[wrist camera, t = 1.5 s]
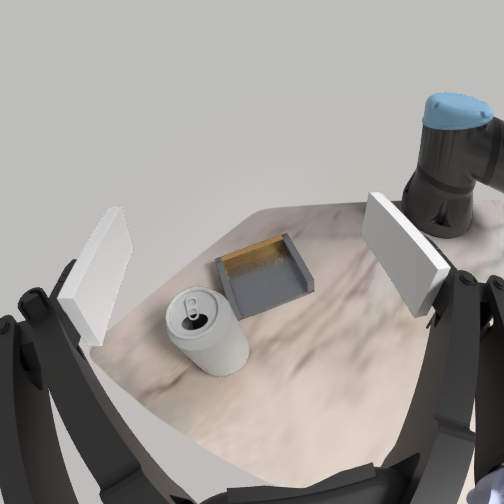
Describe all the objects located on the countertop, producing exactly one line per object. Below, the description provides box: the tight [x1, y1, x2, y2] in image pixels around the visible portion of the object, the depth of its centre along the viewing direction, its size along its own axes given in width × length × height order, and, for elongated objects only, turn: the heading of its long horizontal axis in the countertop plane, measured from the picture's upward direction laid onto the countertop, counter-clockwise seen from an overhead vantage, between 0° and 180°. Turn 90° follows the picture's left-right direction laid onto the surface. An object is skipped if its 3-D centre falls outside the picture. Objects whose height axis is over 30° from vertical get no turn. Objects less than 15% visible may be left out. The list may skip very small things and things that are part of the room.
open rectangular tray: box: [215, 233, 314, 321], centre depth 42 cm, size 12×10×3 cm
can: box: [165, 286, 249, 377], centre depth 32 cm, size 8×8×12 cm
